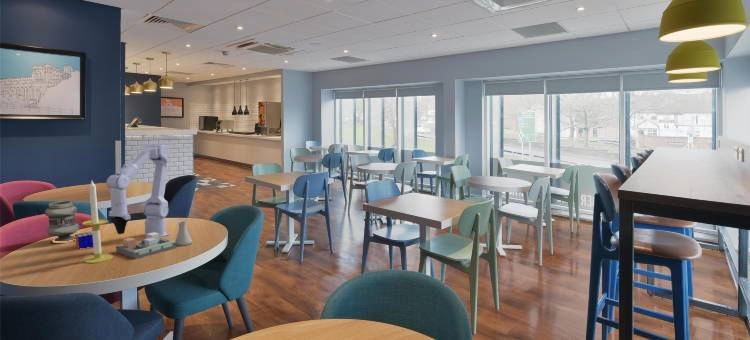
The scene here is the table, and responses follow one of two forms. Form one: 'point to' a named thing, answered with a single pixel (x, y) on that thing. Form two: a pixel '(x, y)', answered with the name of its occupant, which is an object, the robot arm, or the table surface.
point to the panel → (146, 248)
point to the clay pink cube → (129, 243)
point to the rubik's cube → (84, 240)
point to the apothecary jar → (62, 220)
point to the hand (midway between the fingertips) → (120, 233)
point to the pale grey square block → (153, 236)
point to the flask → (183, 235)
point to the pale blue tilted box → (150, 242)
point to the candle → (95, 229)
